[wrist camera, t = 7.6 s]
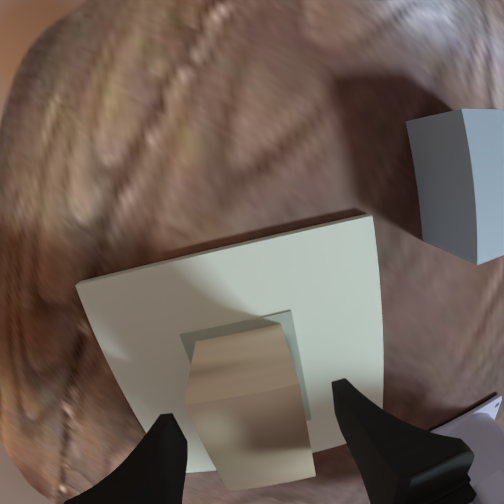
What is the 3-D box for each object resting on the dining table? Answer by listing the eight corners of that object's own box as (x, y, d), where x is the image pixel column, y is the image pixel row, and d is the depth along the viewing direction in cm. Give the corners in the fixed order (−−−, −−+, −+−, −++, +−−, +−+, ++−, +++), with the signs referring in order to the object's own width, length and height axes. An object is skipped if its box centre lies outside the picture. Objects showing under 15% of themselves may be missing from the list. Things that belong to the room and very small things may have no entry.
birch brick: (299, 414, 16) (315, 475, 11) (228, 428, 16) (228, 491, 11) (281, 323, 14) (299, 383, 10) (195, 341, 14) (183, 404, 10)
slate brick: (474, 225, 14) (530, 243, 10) (421, 240, 14) (477, 264, 10) (461, 118, 13) (519, 110, 9) (404, 121, 13) (461, 109, 9)
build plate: (378, 425, 17) (382, 432, 17) (173, 467, 17) (172, 474, 17) (366, 213, 14) (373, 215, 13) (80, 281, 14) (74, 285, 13)
